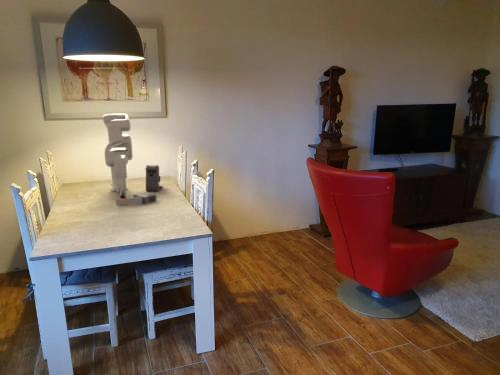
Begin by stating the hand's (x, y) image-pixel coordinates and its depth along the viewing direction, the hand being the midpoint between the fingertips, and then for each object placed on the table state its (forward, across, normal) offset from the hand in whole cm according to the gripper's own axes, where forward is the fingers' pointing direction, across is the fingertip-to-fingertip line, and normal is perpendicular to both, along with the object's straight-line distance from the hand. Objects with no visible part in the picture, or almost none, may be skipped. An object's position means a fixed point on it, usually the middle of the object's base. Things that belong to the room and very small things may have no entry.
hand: (123, 202), depth 253 cm
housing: (+1, -5, +14) cm, 15 cm away
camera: (+2, -37, +17) cm, 40 cm away
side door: (+1, +3, +5) cm, 6 cm away
